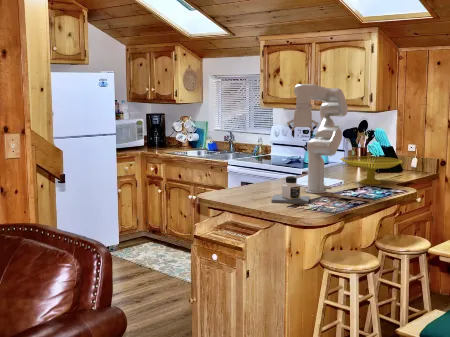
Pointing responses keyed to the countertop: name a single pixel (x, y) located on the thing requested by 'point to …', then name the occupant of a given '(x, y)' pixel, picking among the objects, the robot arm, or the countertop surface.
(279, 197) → the serving board
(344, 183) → the countertop surface
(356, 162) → the cake stand
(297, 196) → the medicine bottle
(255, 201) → the countertop surface
